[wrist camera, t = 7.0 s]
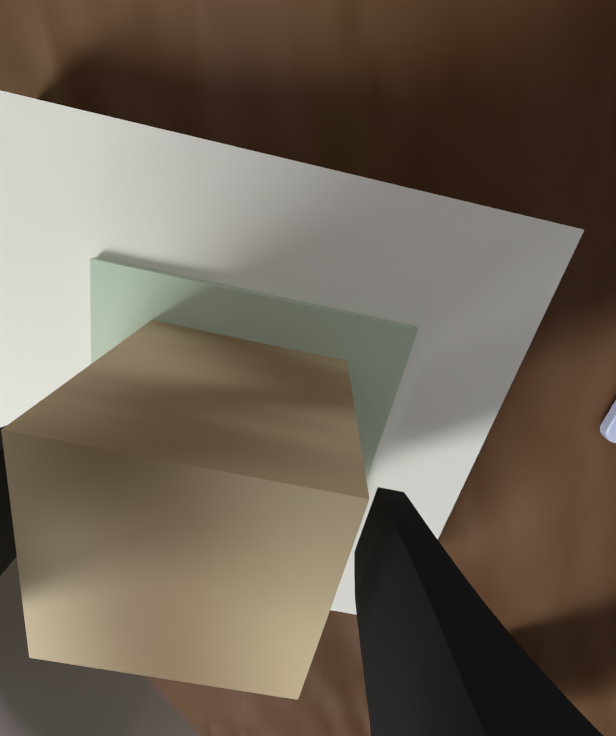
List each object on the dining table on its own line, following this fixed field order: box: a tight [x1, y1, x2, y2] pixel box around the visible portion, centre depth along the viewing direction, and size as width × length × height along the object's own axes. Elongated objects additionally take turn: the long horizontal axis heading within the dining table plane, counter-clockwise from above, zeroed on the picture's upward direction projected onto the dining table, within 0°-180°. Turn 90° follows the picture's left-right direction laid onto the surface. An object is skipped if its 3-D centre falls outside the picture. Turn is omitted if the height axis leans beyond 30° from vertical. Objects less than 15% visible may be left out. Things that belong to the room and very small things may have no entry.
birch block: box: [1, 320, 369, 700], centre depth 9 cm, size 5×5×5 cm
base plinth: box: [0, 91, 584, 615], centre depth 12 cm, size 14×14×3 cm
